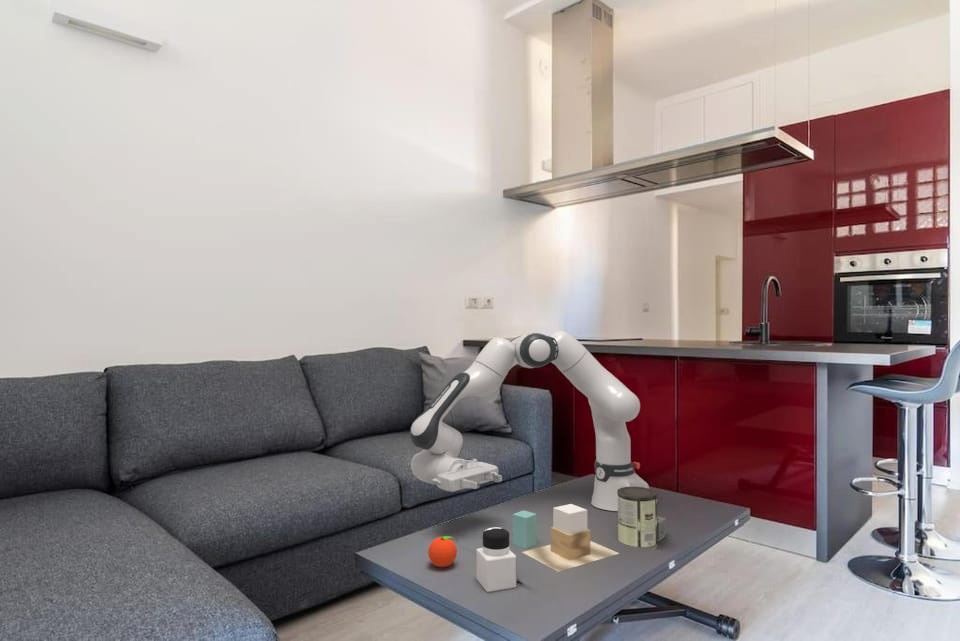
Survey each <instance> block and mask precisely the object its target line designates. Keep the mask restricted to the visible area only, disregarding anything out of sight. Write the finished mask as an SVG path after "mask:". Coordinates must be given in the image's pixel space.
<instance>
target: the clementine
mask: <svg viewBox="0 0 960 641" xmlns="http://www.w3.org/2000/svg"><path fill="white" fill-rule="evenodd" d="M452 539H455V540H456V537H453V536H451V535H450V536H449V535H445V536H438V537H436V538H434V539H433V540H432V541H431V543H430V544H429V546H428V550H427V551H428V552H427V554H428V558H429V560H430V562H431V563H432V564H433V565H434V566H436V567H438V568H447V567H448V566H450V565H451V564H453V563H454V562H455V560H456V558H457V552H458V550H457V545H456V543H459V542H458V540H456V543H455V542H454V541H453V540H452Z"/></svg>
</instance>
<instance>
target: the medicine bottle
mask: <svg viewBox="0 0 960 641" xmlns="http://www.w3.org/2000/svg"><path fill="white" fill-rule="evenodd" d="M475 559H476V562H475V563H476V569H475V571H476V580H477V581H478V583H479V584H480V585H481V586H482V588H483V589H484V590H485V591H486V593H491V592H497V591H502V590H508V589H515V588H517V555H516V554H515V553H513V551H511V549H510V532H509V531H508V530H507V529H506V528H502V527H489V528H486V529H485V530H484V531H483V532H482V547H478V548H476V556H475Z"/></svg>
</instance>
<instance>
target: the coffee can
mask: <svg viewBox="0 0 960 641" xmlns="http://www.w3.org/2000/svg"><path fill="white" fill-rule="evenodd" d="M617 494H618V511H617V526H618V527H617V528H618V530H617V533H618V537H617V538H618V541H619V542H620V543H622V544H624V545H628V546H630V547H637V548H652V549H654V548H655V547H656V546H657V545H658V541H657V517H658V511H657V510H658V506H657V504H658V503H657V501H658V499H657V498H658V492H657V491H655V490H654V489H652V488H650V487H649V488H644V487H623V488H620V489H618V490H617ZM657 547H658V546H657Z"/></svg>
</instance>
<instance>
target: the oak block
mask: <svg viewBox="0 0 960 641" xmlns="http://www.w3.org/2000/svg"><path fill="white" fill-rule="evenodd" d="M590 541H591V530H590V529H589V528H587V530H585V531H582V532H578V533H574V534H570V535H569V534H567V533H564V532H562V531H560V530H558V529H556V528H553V526H551V527H550V545H551V552H553V553H555V554H557V555H559V556H561V557H563V558H565V559H567V560H573V559H576V558H580V557H583V556H586V555H590Z"/></svg>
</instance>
